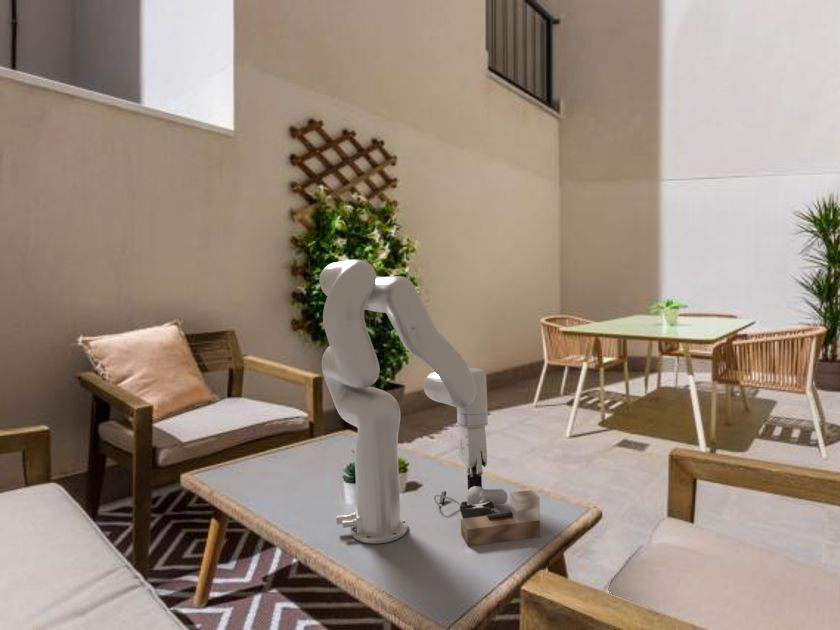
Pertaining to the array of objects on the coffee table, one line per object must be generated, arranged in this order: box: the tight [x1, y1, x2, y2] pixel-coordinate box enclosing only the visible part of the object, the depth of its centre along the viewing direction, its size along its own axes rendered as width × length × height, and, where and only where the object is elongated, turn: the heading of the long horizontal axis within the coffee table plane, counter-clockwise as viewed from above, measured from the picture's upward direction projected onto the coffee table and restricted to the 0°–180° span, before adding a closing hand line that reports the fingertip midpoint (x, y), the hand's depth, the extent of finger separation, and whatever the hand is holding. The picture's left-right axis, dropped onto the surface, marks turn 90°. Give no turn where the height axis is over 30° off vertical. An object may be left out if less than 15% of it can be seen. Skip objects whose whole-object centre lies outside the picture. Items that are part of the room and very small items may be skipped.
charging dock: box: [460, 489, 541, 547], centre depth 111 cm, size 16×6×8 cm, turn 101°
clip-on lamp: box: [433, 486, 508, 519], centre depth 122 cm, size 12×6×18 cm
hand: (474, 490), depth 129 cm, fingers closed
